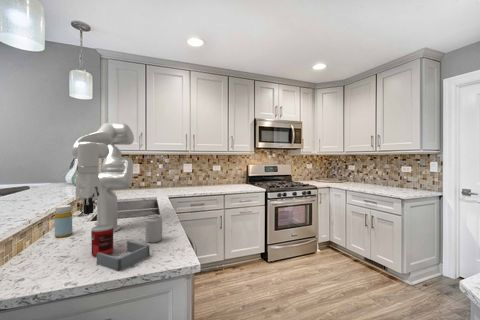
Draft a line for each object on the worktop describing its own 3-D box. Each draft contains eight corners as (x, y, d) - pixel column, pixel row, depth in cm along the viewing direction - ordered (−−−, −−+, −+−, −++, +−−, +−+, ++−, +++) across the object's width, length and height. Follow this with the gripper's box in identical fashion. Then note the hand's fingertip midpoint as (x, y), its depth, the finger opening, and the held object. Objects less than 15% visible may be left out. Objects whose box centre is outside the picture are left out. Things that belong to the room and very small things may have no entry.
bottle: (75, 234, 119) (75, 205, 118) (61, 238, 112) (60, 208, 112) (66, 232, 121) (65, 204, 121) (51, 237, 114) (51, 207, 114)
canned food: (99, 249, 100) (99, 224, 99) (117, 249, 99) (117, 224, 99) (86, 257, 92) (86, 230, 92) (106, 257, 92) (106, 230, 91)
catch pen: (96, 263, 86) (96, 253, 86) (129, 250, 99) (129, 240, 99) (118, 270, 81) (118, 259, 81) (149, 255, 94) (149, 245, 94)
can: (156, 244, 106) (156, 218, 106) (142, 242, 107) (142, 217, 107) (165, 238, 113) (165, 214, 113) (151, 237, 115) (151, 213, 114)
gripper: (68, 170, 98) (68, 213, 99) (90, 171, 92) (90, 217, 92) (86, 170, 105) (86, 210, 105) (108, 170, 99) (108, 213, 99)
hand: (88, 213), depth 99 cm, fingers closed
